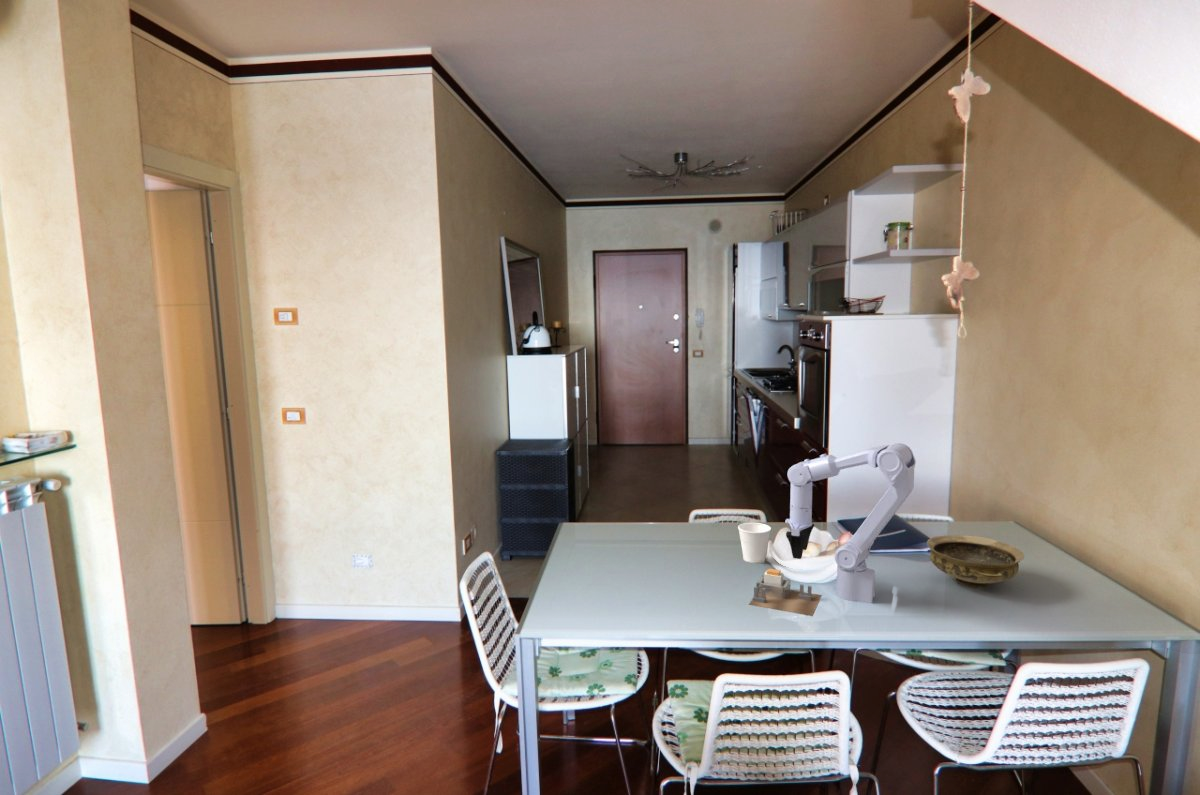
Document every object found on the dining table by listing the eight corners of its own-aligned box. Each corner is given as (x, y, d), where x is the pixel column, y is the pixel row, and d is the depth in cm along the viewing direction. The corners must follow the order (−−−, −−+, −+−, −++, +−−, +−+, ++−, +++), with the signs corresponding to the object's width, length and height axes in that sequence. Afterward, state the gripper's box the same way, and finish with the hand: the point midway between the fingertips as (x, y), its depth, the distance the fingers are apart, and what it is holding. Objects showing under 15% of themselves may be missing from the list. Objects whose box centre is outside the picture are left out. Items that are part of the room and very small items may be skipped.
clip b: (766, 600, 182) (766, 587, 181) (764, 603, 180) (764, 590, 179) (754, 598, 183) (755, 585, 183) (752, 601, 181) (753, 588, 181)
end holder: (790, 590, 188) (790, 579, 187) (785, 599, 182) (785, 588, 182) (761, 585, 191) (762, 575, 191) (756, 594, 186) (756, 583, 185)
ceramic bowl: (1042, 607, 177) (1045, 570, 176) (942, 601, 182) (943, 564, 180) (998, 565, 207) (1000, 532, 205) (913, 560, 211) (914, 529, 210)
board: (821, 598, 185) (821, 595, 184) (812, 619, 172) (812, 615, 172) (761, 588, 192) (761, 585, 192) (748, 608, 179) (748, 604, 179)
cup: (743, 554, 218) (744, 520, 217) (774, 559, 213) (775, 525, 212) (732, 564, 210) (733, 529, 209) (764, 570, 205) (765, 534, 204)
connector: (782, 591, 187) (783, 570, 186) (780, 595, 184) (780, 574, 184) (766, 588, 189) (766, 567, 188) (763, 592, 186) (763, 571, 186)
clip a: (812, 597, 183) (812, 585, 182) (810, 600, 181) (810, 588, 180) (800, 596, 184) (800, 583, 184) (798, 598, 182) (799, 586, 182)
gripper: (791, 497, 198) (790, 543, 200) (780, 511, 186) (779, 560, 187) (817, 500, 195) (815, 547, 197) (807, 514, 182) (806, 563, 184)
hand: (799, 553), depth 192 cm, fingers open, 7 cm apart
